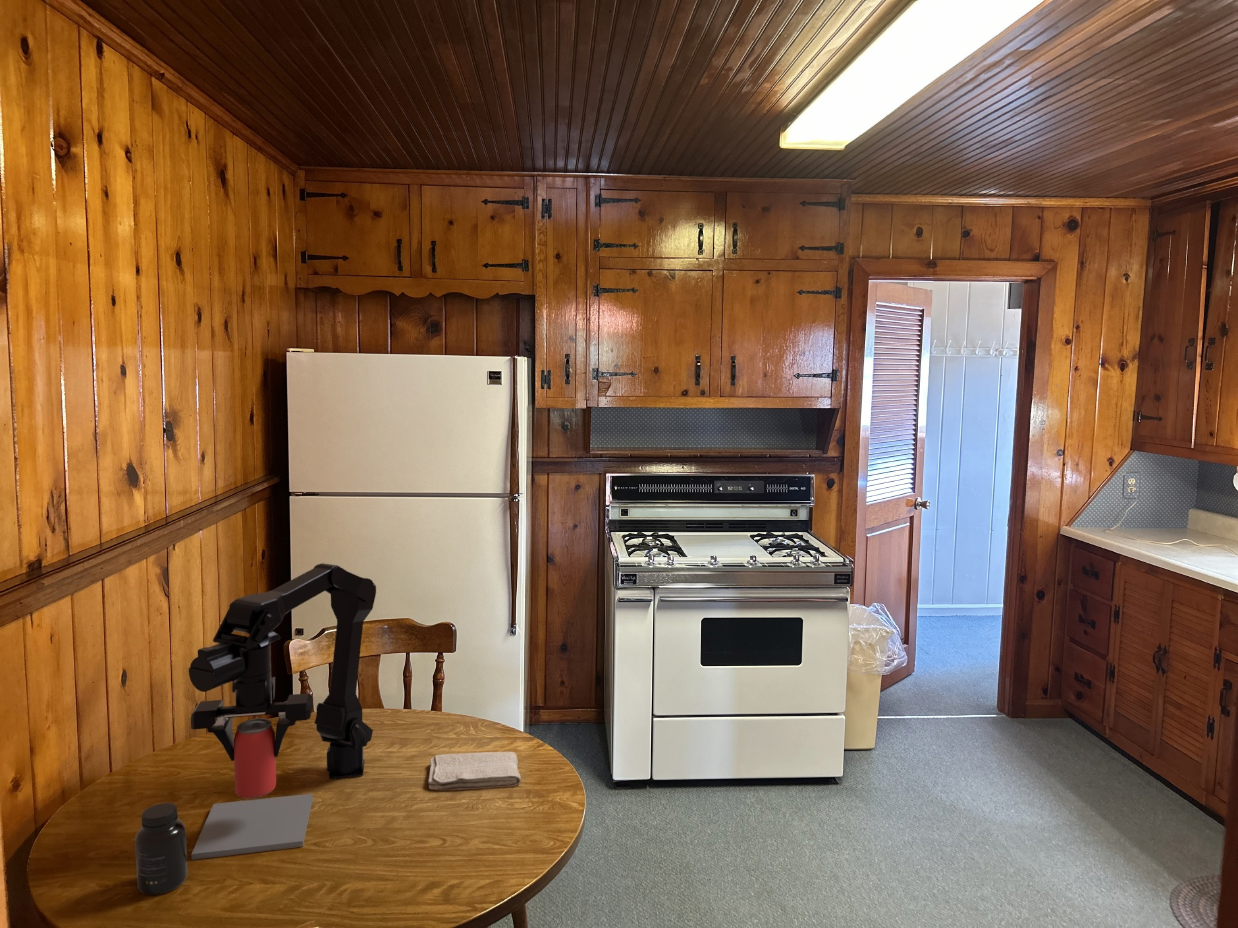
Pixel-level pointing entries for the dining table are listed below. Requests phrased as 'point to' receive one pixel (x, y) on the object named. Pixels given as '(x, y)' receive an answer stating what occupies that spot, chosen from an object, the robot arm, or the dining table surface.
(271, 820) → the slate board
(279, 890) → the dining table surface
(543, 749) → the dining table surface
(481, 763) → the washcloth
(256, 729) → the beer can
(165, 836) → the supplement bottle
